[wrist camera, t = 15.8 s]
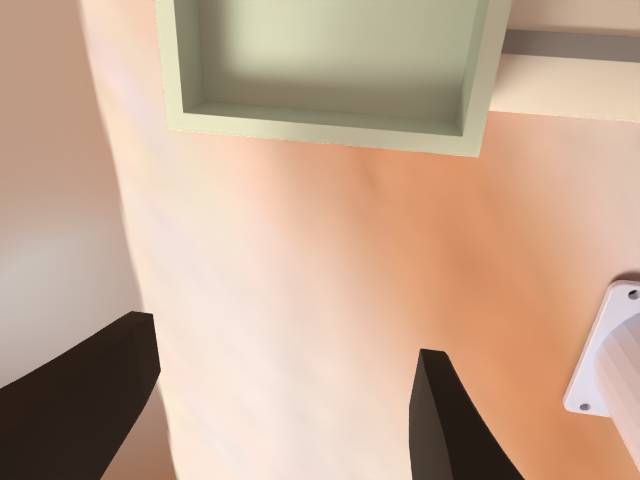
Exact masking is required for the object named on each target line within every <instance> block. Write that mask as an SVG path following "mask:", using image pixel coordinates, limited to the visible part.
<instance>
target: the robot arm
mask: <svg viewBox="0 0 640 480" xmlns="http://www.w3.org/2000/svg"><path fill="white" fill-rule="evenodd" d="M632 290H637V291H636V292H635V293H634V294H632V295H628V294H629V292H631V291H632ZM160 372H161V368H160V361H159V354H158V347H157V340H156V333H155V326H154V319H153V314H150V313H142V312H134V311H131V312H129V313H127V314H126V315H124V316H122V317H121V318H119V319H117V320H116V321H114V322H113V323H111V324H109V325H108V326H106V327H105V328H103V329H101V330H100V331H98V332H97V333H95V334H94V335H92V336H91V337H89V338H88V339H86V340H84V341H82V342H81V343H79V344H78V345H76V346H74V347H73V348H71V349H70V350H68V351H66V352H65V353H63V354H62V355H60V356H58V357H56V358H55V359H53V360H51V361H50V362H48V363H46V364H44V365H42V366H41V367H39V368H37V369H35V370H34V371H32V372H30V373H29V374H27V375H25V376H23V377H22V378H20V379H18V380H16V381H14V382H12V383H10V384H8V385H6V386H4V387H2V388H1V389H0V480H100V479H101V477H102V475H103V474H104V472H105V471H106V469H107V467H108V466H109V464H110V462H111V461H112V459H113V458H114V456H115V454H116V453H117V451H118V449H119V448H120V446H121V445H122V443H123V441H124V440H125V438H126V437H127V435H128V433H129V432H130V430H131V428H132V427H133V425H134V423H135V422H136V420H137V419H138V417H139V415H140V414H141V412H142V410H143V409H144V407H145V405H146V403H147V401H148V399H149V396H150V395H151V392H152V390H153V388H154V386H155V383H156V381H157V379H158V376H159V374H160ZM584 403H587V404H585V405H582V404H584ZM563 404H564V406H565V408H566V409H567V410H568V411H571V412H577V413H584V414H591V415H598V416H606V417H611V418H612V420H613V422H614V424H615V426H616V427H617V429H618V431H619V433H620V435H621V437H622V439H623V441H624V443H625V445H626V447H627V449H628V451H629V453H630V454H631V456H632V458H633V460H634V462H635V464H636V466H637V468H638V470H639V472H640V282H638V281H629V280H618V281H615V282H613V283H612V284H610V286H609V287H608V289H607V291H606V294H605V296H604V299H603V301H602V304H601V306H600V309H599V311H598V314H597V316H596V319H595V321H594V324H593V326H592V329H591V331H590V334H589V336H588V338H587V341H586V343H585V346H584V348H583V351H582V353H581V356H580V358H579V361H578V363H577V366H576V368H575V371H574V373H573V376H572V378H571V381H570V383H569V386H568V388H567V390H566V393H565V395H564V398H563ZM409 450H410V460H411V470H412V479H413V480H525V479H524V478H523V477H522V475H521V474H520V473H519V471H518V470H517V469H516V467H515V466H514V465H513V463H512V462H511V461H510V459H509V458H508V457H507V455H506V454H505V452H504V451H503V449H502V448H501V447H500V445H499V444H498V442H497V441H496V439H495V438H494V436H493V435H492V433H491V432H490V430H489V429H488V427H487V426H486V424H485V422H484V421H483V419H482V417H481V416H480V414H479V413H478V411H477V409H476V408H475V406H474V404H473V403H472V401H471V399H470V397H469V396H468V394H467V392H466V390H465V388H464V387H463V385H462V383H461V381H460V379H459V377H458V375H457V373H456V371H455V369H454V367H453V365H452V363H451V361H450V359H449V357H448V355H447V354H446V353H445V352H444V351H436V350H428V349H421V348H420V353H419V358H418V363H417V369H416V374H415V379H414V384H413V389H412V394H411V399H410V405H409Z"/></svg>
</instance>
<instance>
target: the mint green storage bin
mask: <svg viewBox="0 0 640 480" xmlns="http://www.w3.org/2000/svg"><path fill="white" fill-rule="evenodd" d="M154 3H155V12H156V22H157V32H158V42H159V52H160V62H161V72H162V81H163V91H164V101H165V111H166V121H167V130H178V131H189V132H200V133H211V134H222V135H234V136H245V137H256V138H267V139H278V140H290V141H301V142H312V143H323V144H334V145H346V146H357V147H368V148H379V149H391V150H402V151H413V152H424V153H435V154H447V155H458V156H469V157H479V153H480V148H481V143H482V139H483V134H484V129H485V125H486V120H487V116H488V111H489V106H490V102H491V97H492V92H493V88H494V83H495V79H496V74H497V69H498V65H499V60H500V55H501V51H502V46H503V42H504V37H505V32H506V28H507V23H508V18H509V14H510V9H511V4H512V0H154Z"/></svg>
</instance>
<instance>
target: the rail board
mask: <svg viewBox="0 0 640 480" xmlns="http://www.w3.org/2000/svg"><path fill="white" fill-rule="evenodd" d="M489 111H502V112H515V113H527V114H540V115H552V116H565V117H577V118H590V119H602V120H615V121H628V122H640V0H512V4H511V9H510V14H509V18H508V23H507V28H506V32H505V37H504V42H503V46H502V51H501V55H500V60H499V65H498V69H497V74H496V79H495V83H494V88H493V92H492V97H491V102H490V106H489Z"/></svg>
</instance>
